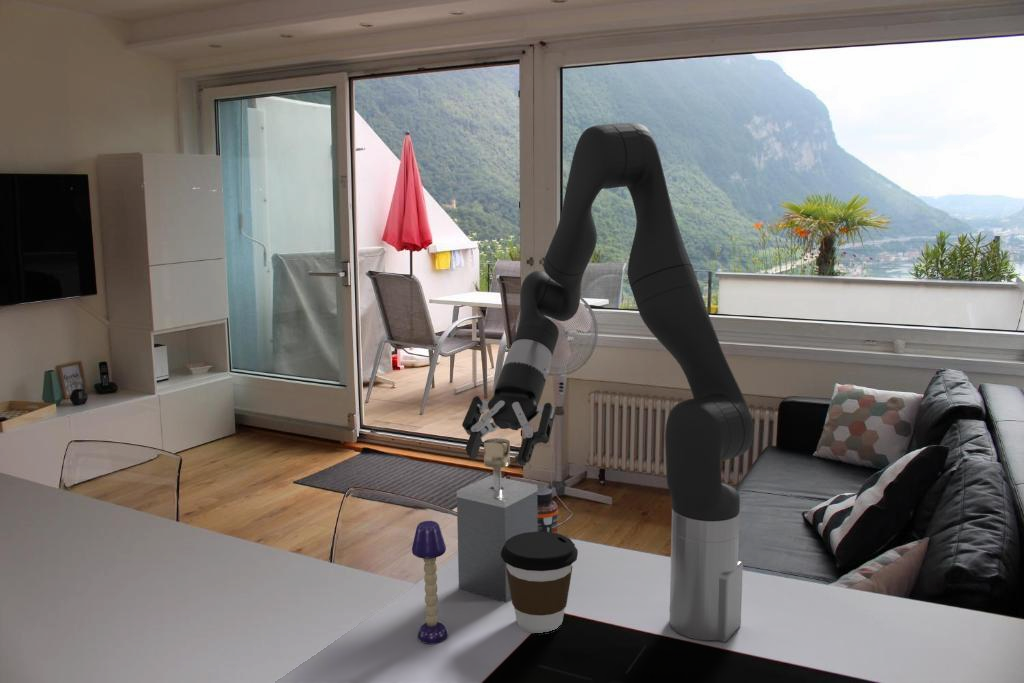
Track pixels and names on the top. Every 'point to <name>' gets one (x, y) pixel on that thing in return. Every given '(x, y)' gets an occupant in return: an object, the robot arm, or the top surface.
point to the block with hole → (491, 532)
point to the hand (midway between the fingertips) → (495, 460)
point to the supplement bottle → (547, 511)
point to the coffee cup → (539, 578)
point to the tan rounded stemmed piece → (497, 457)
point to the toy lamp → (430, 578)
